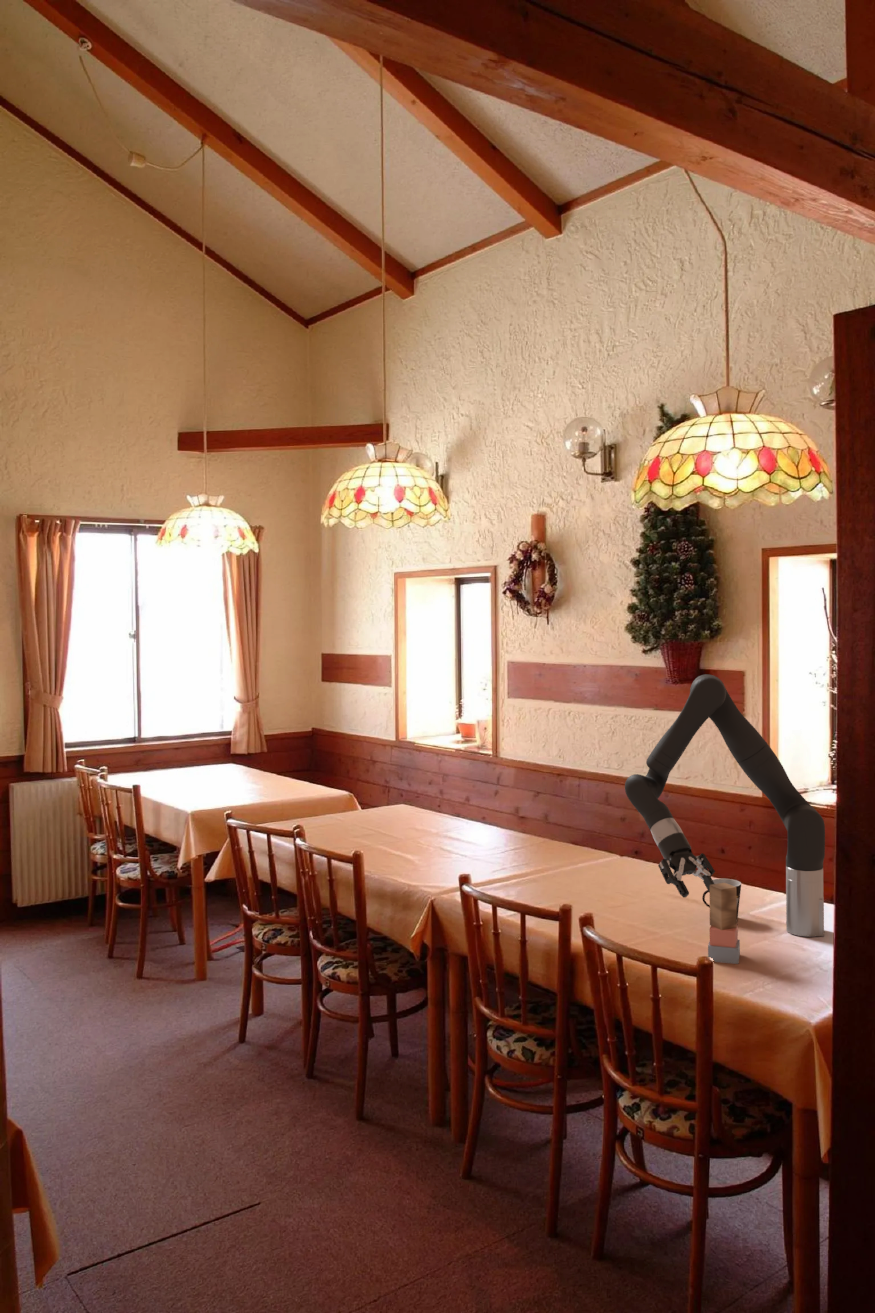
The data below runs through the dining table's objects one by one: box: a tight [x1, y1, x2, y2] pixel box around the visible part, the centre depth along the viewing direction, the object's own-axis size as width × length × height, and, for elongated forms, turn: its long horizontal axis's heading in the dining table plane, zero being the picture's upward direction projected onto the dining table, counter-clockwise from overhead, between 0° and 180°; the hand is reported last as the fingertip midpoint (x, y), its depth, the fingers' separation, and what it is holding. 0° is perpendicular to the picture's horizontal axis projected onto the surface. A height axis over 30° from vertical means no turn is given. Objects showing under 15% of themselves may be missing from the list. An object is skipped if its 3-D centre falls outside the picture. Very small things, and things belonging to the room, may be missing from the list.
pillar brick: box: [709, 883, 738, 930], centre depth 248 cm, size 4×4×10 cm
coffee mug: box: [702, 878, 742, 920], centre depth 279 cm, size 12×9×10 cm
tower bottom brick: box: [707, 939, 741, 965], centre depth 248 cm, size 7×7×4 cm
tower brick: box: [709, 923, 739, 948], centre depth 248 cm, size 6×6×4 cm
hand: (700, 893), depth 255 cm, fingers open, 8 cm apart
